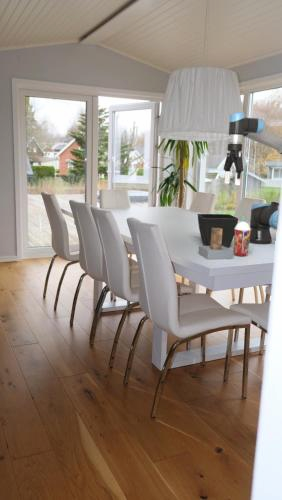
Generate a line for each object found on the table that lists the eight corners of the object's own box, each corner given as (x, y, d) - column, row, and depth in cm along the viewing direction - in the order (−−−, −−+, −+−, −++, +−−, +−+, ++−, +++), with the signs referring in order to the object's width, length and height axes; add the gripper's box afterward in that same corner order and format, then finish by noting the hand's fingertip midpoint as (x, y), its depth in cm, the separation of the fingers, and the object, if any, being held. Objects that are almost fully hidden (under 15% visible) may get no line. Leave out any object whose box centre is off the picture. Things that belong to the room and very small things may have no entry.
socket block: (222, 253, 230) (222, 245, 229) (232, 259, 217) (233, 251, 217) (198, 253, 227) (198, 245, 226) (207, 259, 215) (208, 251, 214)
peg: (217, 255, 225) (219, 227, 222) (220, 257, 221) (222, 229, 218) (209, 255, 224) (211, 227, 221) (212, 257, 220) (214, 229, 217)
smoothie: (251, 257, 223) (254, 217, 219) (234, 256, 222) (238, 217, 219) (246, 253, 231) (249, 215, 227) (230, 253, 231) (233, 215, 227)
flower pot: (202, 248, 241) (204, 217, 238) (195, 242, 259) (197, 213, 256) (236, 249, 243) (239, 218, 239) (227, 242, 261) (229, 214, 258)
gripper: (219, 143, 245) (216, 182, 249) (238, 142, 221) (235, 185, 226) (232, 144, 247) (229, 183, 251) (252, 143, 223) (248, 185, 227)
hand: (231, 184), depth 238 cm, fingers open, 13 cm apart
